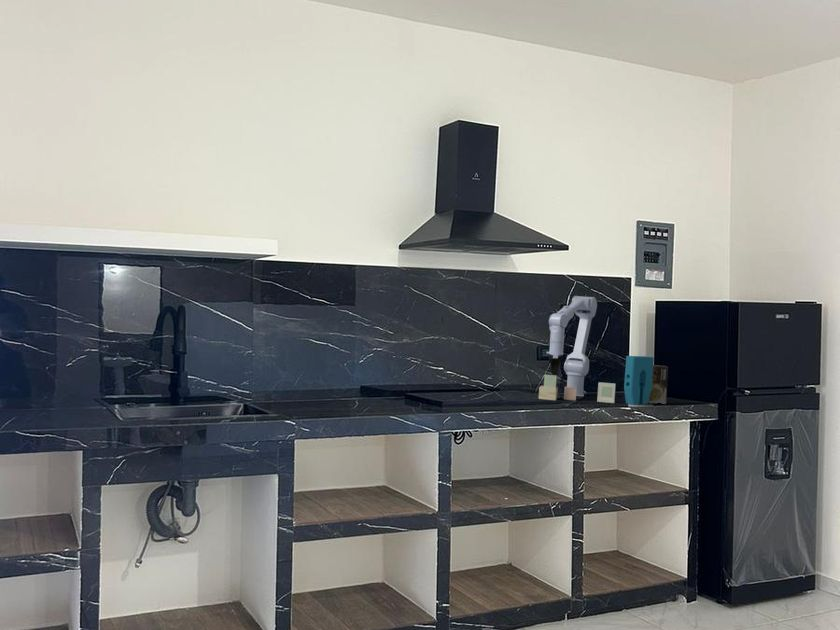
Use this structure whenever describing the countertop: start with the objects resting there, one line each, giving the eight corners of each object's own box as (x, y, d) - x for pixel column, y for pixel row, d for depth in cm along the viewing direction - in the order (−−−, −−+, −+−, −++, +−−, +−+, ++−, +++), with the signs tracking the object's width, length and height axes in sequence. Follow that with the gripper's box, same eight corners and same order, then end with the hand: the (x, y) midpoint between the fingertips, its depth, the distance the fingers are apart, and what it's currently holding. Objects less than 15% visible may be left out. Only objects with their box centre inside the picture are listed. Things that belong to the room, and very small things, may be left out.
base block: (540, 397, 372) (541, 385, 372) (556, 398, 371) (557, 387, 370) (538, 399, 366) (539, 387, 365) (555, 400, 364) (556, 388, 364)
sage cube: (543, 386, 371) (544, 374, 371) (555, 387, 370) (556, 375, 370) (543, 387, 366) (544, 375, 366) (555, 388, 365) (556, 376, 365)
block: (642, 402, 376) (646, 356, 375) (651, 404, 371) (654, 357, 371) (621, 403, 370) (625, 355, 369) (630, 404, 365) (633, 357, 365)
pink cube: (563, 398, 374) (564, 386, 374) (575, 399, 373) (576, 387, 373) (563, 399, 369) (564, 387, 369) (575, 400, 369) (576, 388, 368)
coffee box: (663, 402, 382) (666, 365, 381) (666, 404, 375) (668, 367, 375) (642, 401, 383) (644, 364, 382) (644, 402, 376) (647, 365, 376)
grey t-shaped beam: (597, 400, 372) (598, 381, 372) (613, 402, 371) (615, 383, 371) (597, 401, 368) (598, 382, 368) (614, 403, 367) (615, 384, 367)
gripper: (547, 340, 377) (545, 371, 378) (546, 342, 363) (544, 374, 363) (564, 341, 376) (562, 373, 376) (563, 343, 362) (561, 376, 362)
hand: (554, 374), depth 370 cm, fingers open, 7 cm apart
